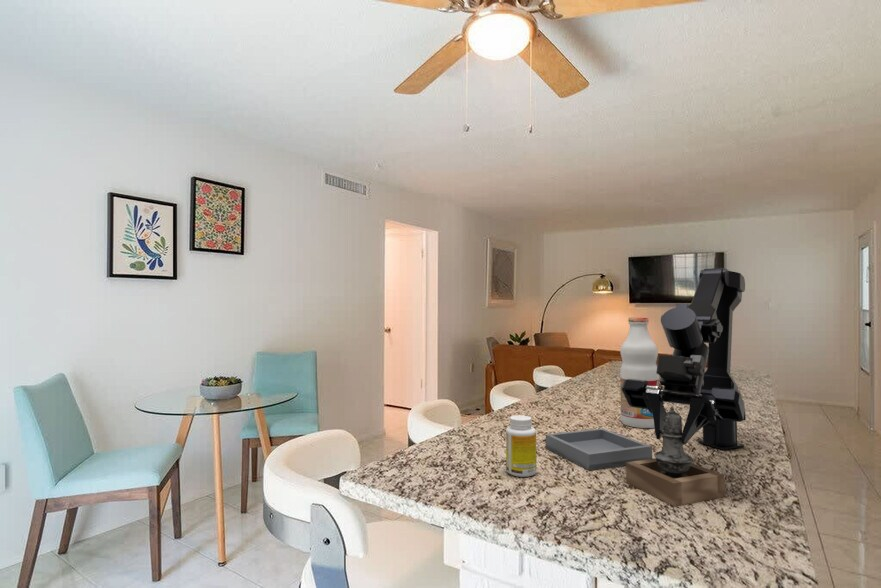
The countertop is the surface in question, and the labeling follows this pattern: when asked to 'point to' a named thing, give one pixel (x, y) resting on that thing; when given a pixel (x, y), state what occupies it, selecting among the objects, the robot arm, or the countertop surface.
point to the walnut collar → (675, 482)
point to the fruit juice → (638, 370)
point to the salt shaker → (673, 447)
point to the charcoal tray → (597, 448)
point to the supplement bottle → (521, 447)
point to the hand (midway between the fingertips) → (670, 440)
